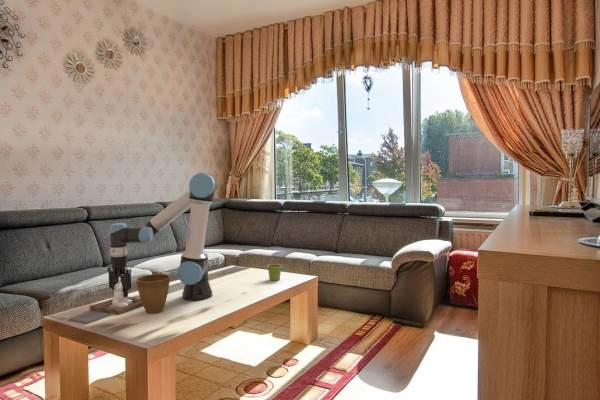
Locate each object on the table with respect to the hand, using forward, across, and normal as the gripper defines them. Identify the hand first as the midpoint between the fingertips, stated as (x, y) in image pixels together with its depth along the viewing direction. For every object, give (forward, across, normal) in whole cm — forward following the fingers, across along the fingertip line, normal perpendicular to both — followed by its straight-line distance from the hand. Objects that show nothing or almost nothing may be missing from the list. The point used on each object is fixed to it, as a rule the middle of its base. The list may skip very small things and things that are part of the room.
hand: (120, 302), depth 205 cm
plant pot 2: (+2, +45, +75) cm, 88 cm away
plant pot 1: (+2, +21, 0) cm, 21 cm away
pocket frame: (+2, 0, 0) cm, 2 cm away
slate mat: (+2, 0, -18) cm, 18 cm away
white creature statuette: (+2, 0, 0) cm, 2 cm away
